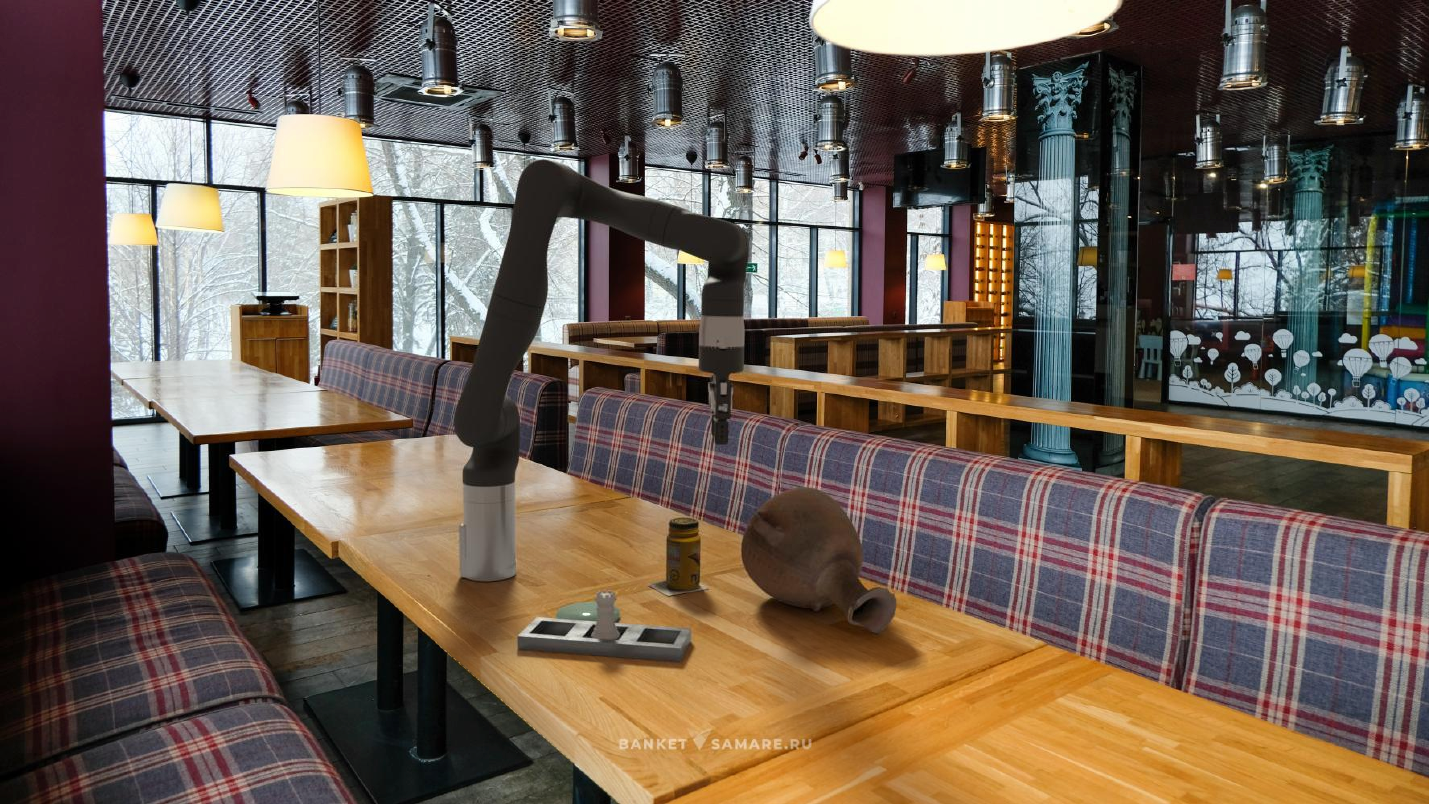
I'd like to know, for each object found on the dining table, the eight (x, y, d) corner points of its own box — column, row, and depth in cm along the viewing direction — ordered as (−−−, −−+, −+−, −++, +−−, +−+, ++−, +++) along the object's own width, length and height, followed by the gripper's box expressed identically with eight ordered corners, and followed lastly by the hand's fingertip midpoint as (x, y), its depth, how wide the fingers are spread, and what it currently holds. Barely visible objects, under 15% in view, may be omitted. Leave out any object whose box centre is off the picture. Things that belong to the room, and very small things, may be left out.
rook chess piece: (590, 640, 139) (590, 587, 138) (621, 639, 139) (621, 587, 138) (589, 651, 134) (589, 597, 133) (620, 650, 134) (620, 597, 134)
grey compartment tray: (517, 649, 134) (517, 635, 134) (536, 629, 142) (536, 617, 142) (680, 661, 131) (680, 648, 130) (691, 641, 138) (691, 628, 138)
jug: (727, 588, 164) (821, 679, 138) (717, 488, 157) (814, 564, 131) (825, 554, 172) (930, 633, 146) (819, 457, 165) (928, 523, 139)
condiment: (709, 588, 163) (710, 522, 162) (668, 597, 159) (668, 528, 157) (687, 578, 169) (688, 513, 168) (647, 585, 165) (647, 519, 163)
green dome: (547, 625, 144) (547, 620, 144) (567, 604, 154) (567, 600, 154) (610, 630, 143) (610, 625, 142) (626, 608, 152) (626, 604, 152)
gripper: (697, 340, 161) (695, 433, 163) (701, 345, 147) (699, 446, 149) (740, 341, 162) (737, 433, 163) (748, 346, 147) (745, 447, 149)
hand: (719, 440), depth 156 cm, fingers open, 8 cm apart
